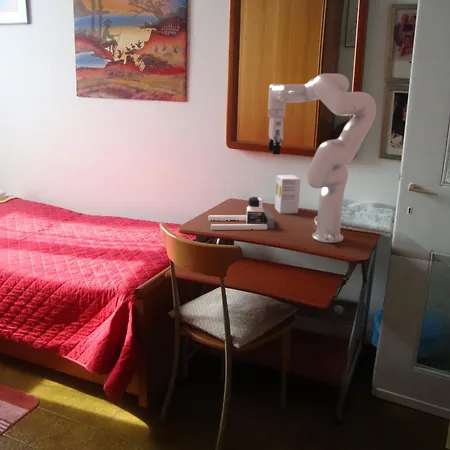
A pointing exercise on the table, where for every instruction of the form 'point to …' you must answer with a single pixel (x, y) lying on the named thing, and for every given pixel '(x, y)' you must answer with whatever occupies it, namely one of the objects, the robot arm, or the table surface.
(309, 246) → the table surface
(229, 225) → the guide rails
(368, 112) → the robot arm
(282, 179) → the supplement box
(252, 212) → the medicine bottle
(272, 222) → the end stop
